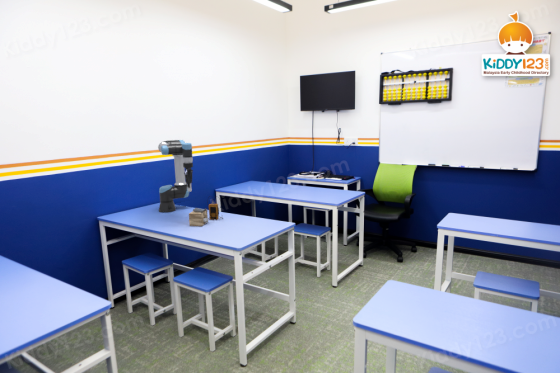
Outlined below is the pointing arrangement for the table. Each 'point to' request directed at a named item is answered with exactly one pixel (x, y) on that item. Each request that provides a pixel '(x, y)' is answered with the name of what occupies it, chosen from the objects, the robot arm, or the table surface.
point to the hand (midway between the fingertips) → (189, 191)
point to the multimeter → (213, 210)
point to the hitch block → (197, 218)
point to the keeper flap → (198, 209)
